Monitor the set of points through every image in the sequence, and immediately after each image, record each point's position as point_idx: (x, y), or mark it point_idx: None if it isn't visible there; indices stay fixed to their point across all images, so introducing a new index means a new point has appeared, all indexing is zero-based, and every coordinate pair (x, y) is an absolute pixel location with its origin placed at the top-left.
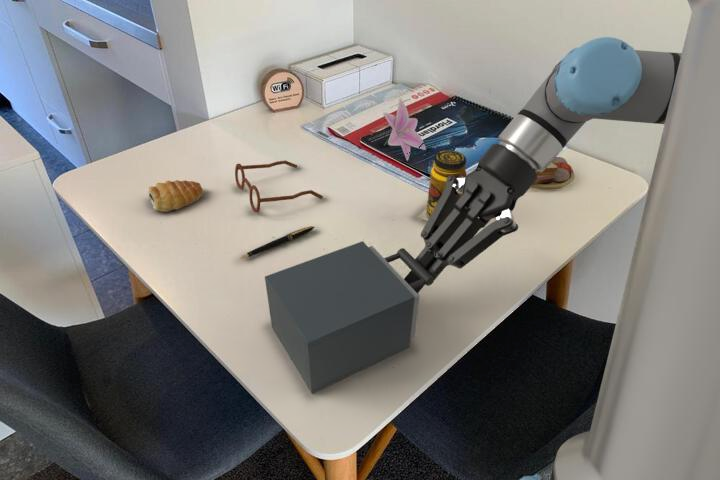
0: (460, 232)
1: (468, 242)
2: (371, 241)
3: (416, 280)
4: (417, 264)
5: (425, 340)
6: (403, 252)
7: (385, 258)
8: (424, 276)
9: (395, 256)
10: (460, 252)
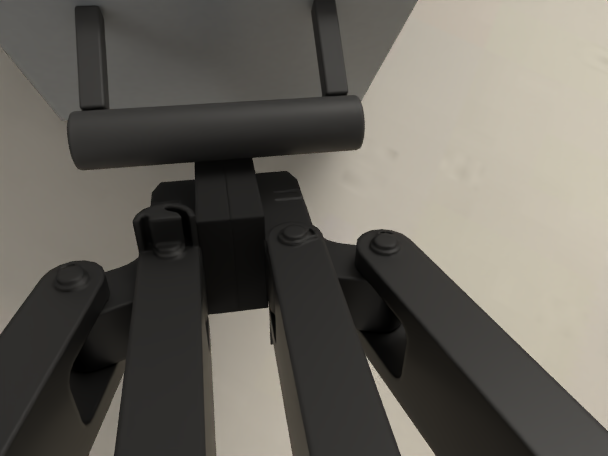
0: (149, 419)
1: (5, 419)
2: (602, 234)
3: None
4: (200, 121)
5: (53, 166)
6: (327, 106)
7: (332, 18)
8: (100, 112)
9: (326, 68)
10: (33, 336)
